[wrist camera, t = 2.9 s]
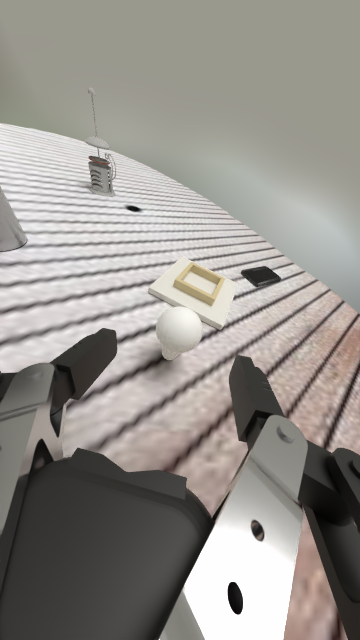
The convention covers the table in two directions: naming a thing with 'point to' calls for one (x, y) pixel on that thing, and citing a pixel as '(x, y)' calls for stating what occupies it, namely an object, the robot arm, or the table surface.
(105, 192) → the french press
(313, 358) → the table surface
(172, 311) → the lightbulb
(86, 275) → the table surface
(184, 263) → the lamp base
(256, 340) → the table surface
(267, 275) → the phone
